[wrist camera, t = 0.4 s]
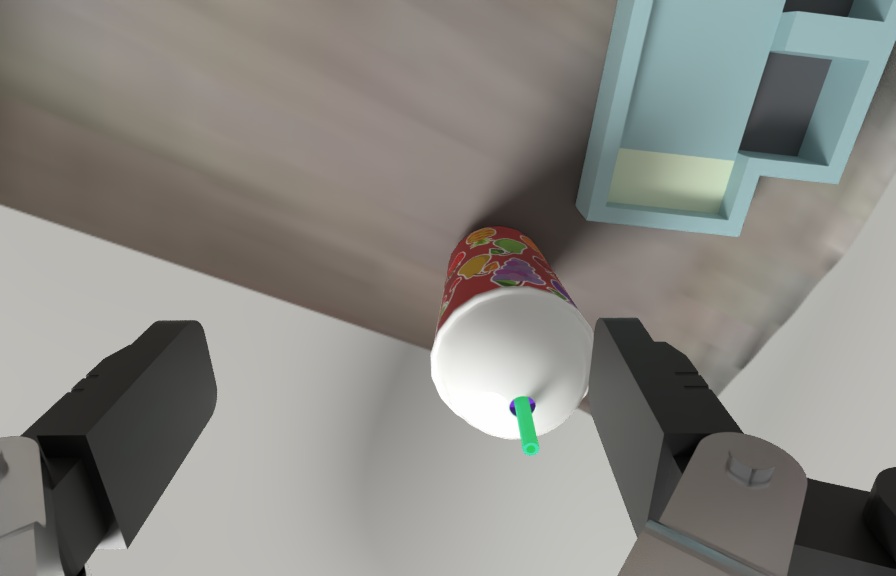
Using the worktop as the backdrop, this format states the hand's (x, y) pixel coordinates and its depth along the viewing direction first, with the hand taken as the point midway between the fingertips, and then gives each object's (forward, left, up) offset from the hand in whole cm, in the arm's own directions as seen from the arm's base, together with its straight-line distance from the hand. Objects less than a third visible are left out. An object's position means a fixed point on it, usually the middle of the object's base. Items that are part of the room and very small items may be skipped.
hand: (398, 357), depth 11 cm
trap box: (-11, +18, -27) cm, 34 cm away
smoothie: (+8, +5, -28) cm, 29 cm away
